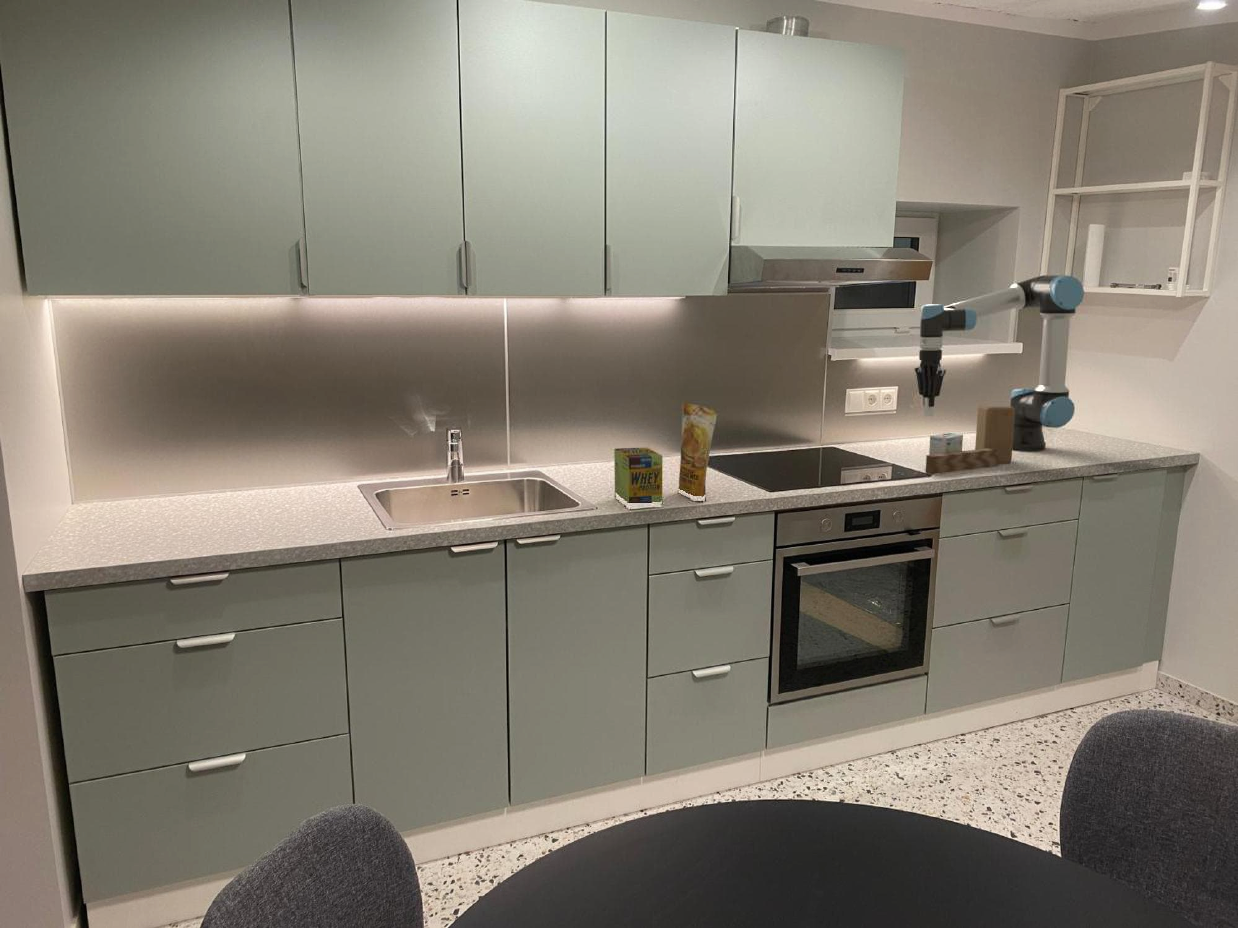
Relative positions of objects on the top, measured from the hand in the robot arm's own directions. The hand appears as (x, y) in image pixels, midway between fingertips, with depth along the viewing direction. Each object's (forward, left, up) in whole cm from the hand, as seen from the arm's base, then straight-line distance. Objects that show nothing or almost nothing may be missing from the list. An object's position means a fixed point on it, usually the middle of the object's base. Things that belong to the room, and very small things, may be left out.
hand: (928, 415), depth 329 cm
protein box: (+120, +10, -17) cm, 122 cm away
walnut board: (0, +18, -16) cm, 24 cm away
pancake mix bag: (+101, +10, -17) cm, 103 cm away
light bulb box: (0, +9, -17) cm, 19 cm away
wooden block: (-20, +12, -17) cm, 28 cm away
